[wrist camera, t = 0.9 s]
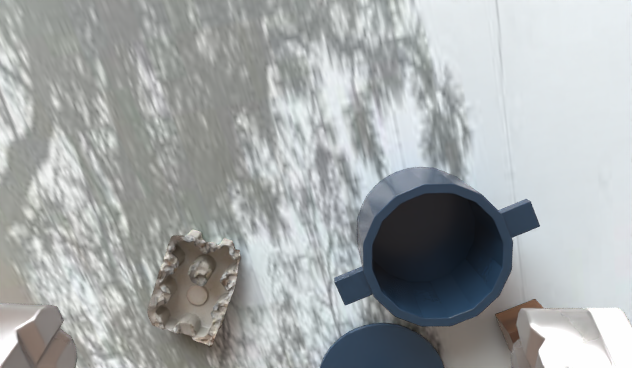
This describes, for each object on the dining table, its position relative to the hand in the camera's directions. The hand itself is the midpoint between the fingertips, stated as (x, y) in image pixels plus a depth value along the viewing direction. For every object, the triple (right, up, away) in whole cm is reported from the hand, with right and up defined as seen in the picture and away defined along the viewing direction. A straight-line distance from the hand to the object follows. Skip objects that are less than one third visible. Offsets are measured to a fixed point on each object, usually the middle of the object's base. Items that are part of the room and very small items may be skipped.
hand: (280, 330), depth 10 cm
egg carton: (-12, -7, +47) cm, 49 cm away
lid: (+8, -19, +48) cm, 52 cm away
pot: (+11, -2, +46) cm, 47 cm away
